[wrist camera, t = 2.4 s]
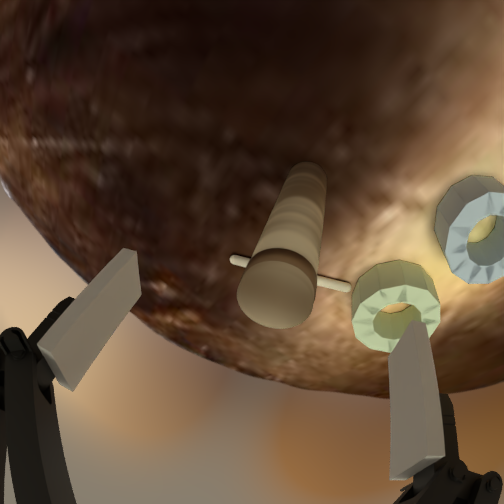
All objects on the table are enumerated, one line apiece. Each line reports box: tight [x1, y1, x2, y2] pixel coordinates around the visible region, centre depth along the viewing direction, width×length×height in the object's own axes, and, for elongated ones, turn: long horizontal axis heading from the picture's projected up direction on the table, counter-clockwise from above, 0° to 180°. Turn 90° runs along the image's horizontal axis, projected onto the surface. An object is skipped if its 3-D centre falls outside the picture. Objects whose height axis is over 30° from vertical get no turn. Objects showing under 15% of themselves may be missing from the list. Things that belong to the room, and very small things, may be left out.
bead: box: [352, 260, 440, 353], centre depth 30 cm, size 9×9×4 cm
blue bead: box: [434, 175, 504, 284], centre depth 23 cm, size 9×9×4 cm
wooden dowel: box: [237, 162, 327, 329], centre depth 21 cm, size 4×4×16 cm
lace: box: [230, 255, 351, 292], centre depth 32 cm, size 1×13×1 cm, turn 82°
